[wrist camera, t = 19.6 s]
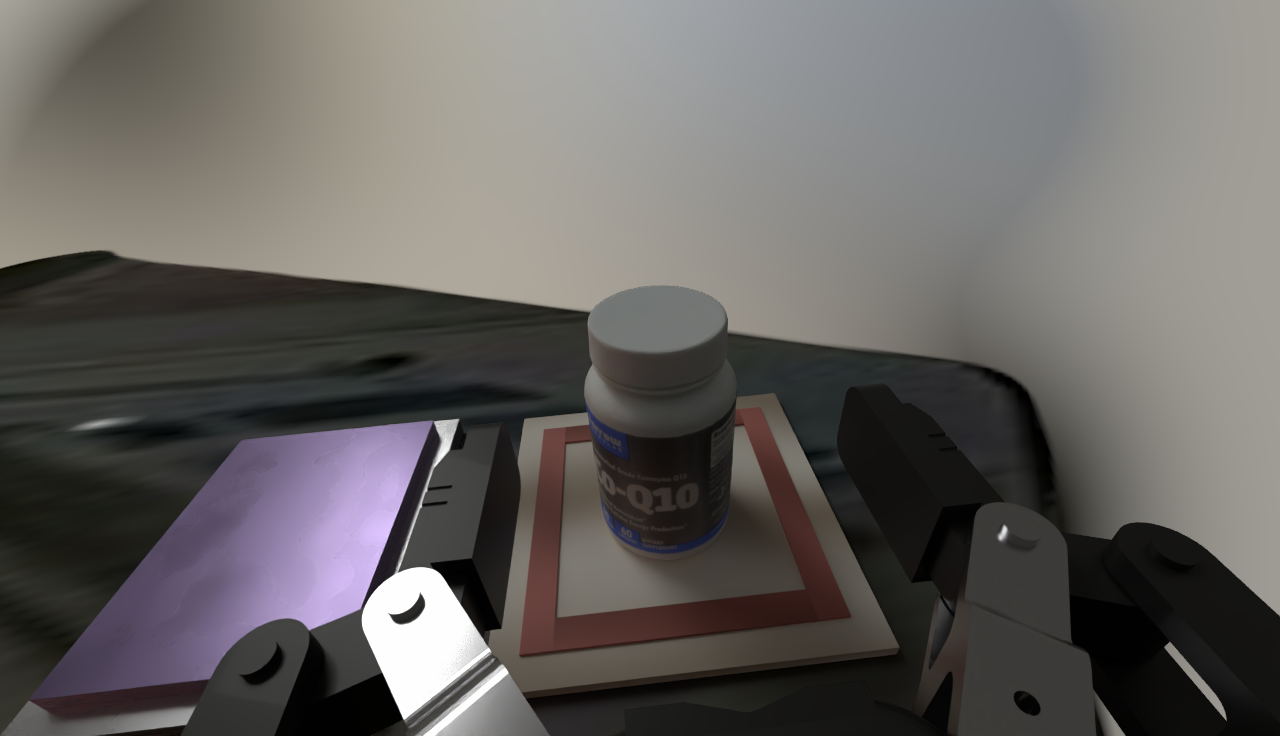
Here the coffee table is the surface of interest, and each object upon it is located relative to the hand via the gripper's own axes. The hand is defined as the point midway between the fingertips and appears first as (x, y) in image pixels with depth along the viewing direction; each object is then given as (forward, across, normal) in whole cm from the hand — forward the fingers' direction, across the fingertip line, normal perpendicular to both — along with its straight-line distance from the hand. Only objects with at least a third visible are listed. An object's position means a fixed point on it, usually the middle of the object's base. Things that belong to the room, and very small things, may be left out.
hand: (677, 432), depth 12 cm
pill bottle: (+4, 0, +7) cm, 8 cm away
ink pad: (+4, +14, +8) cm, 16 cm away
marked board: (+4, 0, +8) cm, 9 cm away
